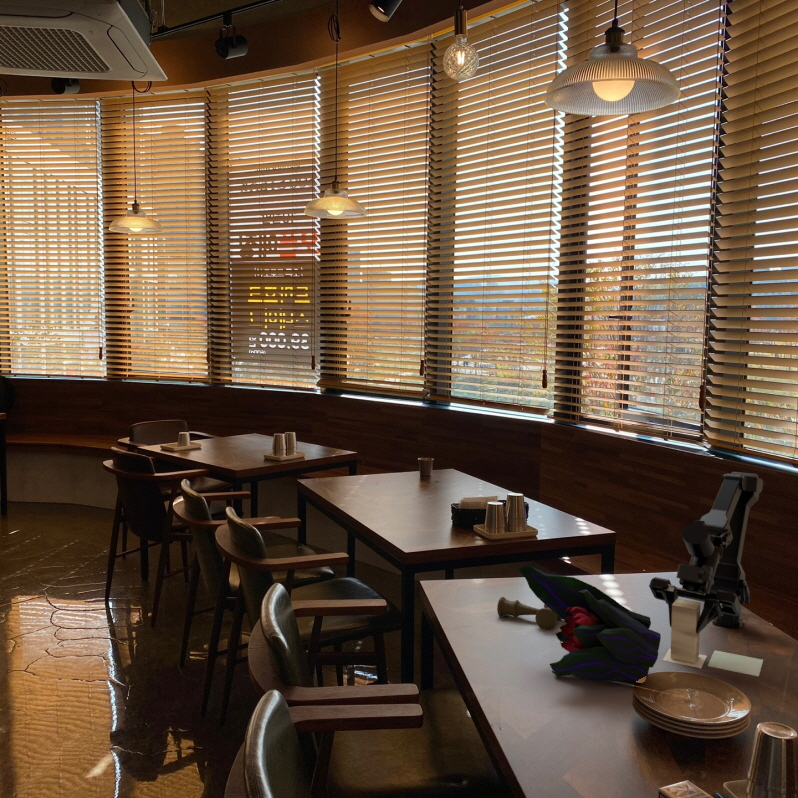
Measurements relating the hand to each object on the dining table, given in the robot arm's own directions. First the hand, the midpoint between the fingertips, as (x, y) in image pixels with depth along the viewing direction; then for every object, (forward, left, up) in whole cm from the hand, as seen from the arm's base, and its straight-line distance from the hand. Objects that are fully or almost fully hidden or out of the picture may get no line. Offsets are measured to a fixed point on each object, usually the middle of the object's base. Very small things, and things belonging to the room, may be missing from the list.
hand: (683, 629), depth 164 cm
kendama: (-6, -36, -8) cm, 38 cm away
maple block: (-1, 0, -7) cm, 7 cm away
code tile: (-1, 0, -7) cm, 7 cm away
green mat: (-4, +10, -7) cm, 13 cm away
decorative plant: (+19, -16, -7) cm, 26 cm away
